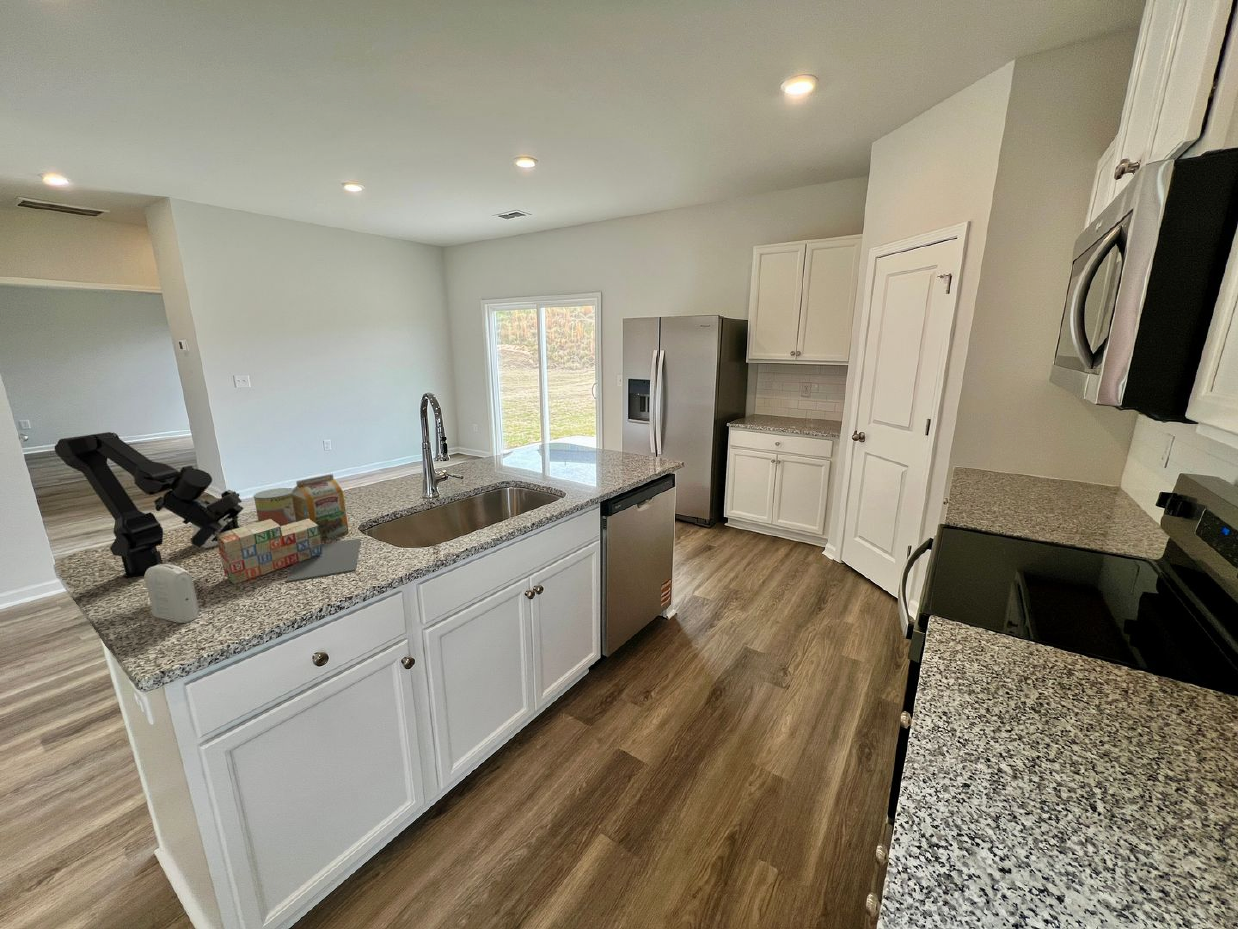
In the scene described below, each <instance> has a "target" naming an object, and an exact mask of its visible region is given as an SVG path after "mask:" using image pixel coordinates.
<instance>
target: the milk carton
mask: <svg viewBox="0 0 1238 929" xmlns="http://www.w3.org/2000/svg"><path fill="white" fill-rule="evenodd" d="M292 489H293V491H292V500H293V506H294V512H295V518H296V522H298V521H302V520H305V519H310V520H311V521H313V522H314V523H316V524H317V525H318V527H319V533H320V539H321V542H323V541H328V540H331V539H333V538H334V539H335V538H337V537H340V536H344V535H347V534H349V532H350V531H349V525H348V519H347V518H348V517H347V510H346V505H345V503H346V502H345V498H344V491H343V489H342V487H341V486H340V484H339V483H338V481H336V480H335V478H334V475H333V473H330V474H325V475H321V476H315V477H310V478H305V479H301V480H296V486H294V488H292Z"/></svg>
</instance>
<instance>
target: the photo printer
mask: <svg viewBox="0 0 1238 929" xmlns="http://www.w3.org/2000/svg"><path fill="white" fill-rule="evenodd" d="M143 576H144V582H145V586H146V589H147V593H148V598H149V602H150V606H151V610H152V614H153V616H154V617H155V618H158V619H162V620H165V621H169V622H173V623H179V624H180V623H181V624H183V623H185V624H186V623H189V622H192V621H194V620H195V619H197V618H198V616H200V609H199V605H198V604H199V603H198V598H197V594H196V588H195V585H194V581H193V577H192V575H191V574H190V572H189V571H187V570H186V569H184V568H182V567H179V566H177V565H173V564H168V563H167V564H165V563H163V564H160V565H156V566H153V567H150V568H148V569H147V571H146V572H145V575H143Z"/></svg>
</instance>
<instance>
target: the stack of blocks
mask: <svg viewBox="0 0 1238 929" xmlns="http://www.w3.org/2000/svg"><path fill="white" fill-rule="evenodd" d="M239 527H240V528H237V529H233V530H229V531H225V532H221V533H218V534H216V536H217V541H218V544H219V545H217V547H218V551H219V555H220V558H221V563H222V567H223V572H224V576H226V578H227V579H228V580H229V581H230V582H231V583H232V584H233V585H237V584H239V583H241V582H245V581H247V580H250V579H253V578H257V577H259V576H263V575H265V574H269V573H272V572H274V571H276V570H279V569H282V568H285V567H287V566H292V565H293V564H294V563H297V562H300V561H303V560H306V559H309V558H311V557H315V556H318V555H320V554H322V547H321V544H322V541H321V539H320V533H319V527H318V525H317V524H316V523H314V522H313V521H311V520H310V519H305V520H302V521H298V522H294V523H291V524H287V525H284V526H280V525H278V524H277V523H275V522H274V521H273V520H272V519H269V520H265V521H261V522H259V521H258V522H254V523H251V524H248V525H245V526H239Z"/></svg>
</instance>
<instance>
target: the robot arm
mask: <svg viewBox="0 0 1238 929" xmlns="http://www.w3.org/2000/svg"><path fill="white" fill-rule="evenodd" d="M54 452H55V454H56V455H57V456H58V457H60V459H61V461H63V462H64V463H65V465H66V466H67V467H70V468H72V469H74V470H76V471H78V472H81V473H82V474H83V476H84V477H85V479H86V480H87V481H88V483H89V484H90V486H91V488H93V490H94V493H96V495H97V496H98V497H99V499H100V501H102V503H103V505H104V506H105V508H106V509H107V511H108V512H109V514H110V515H111V516H112V518H113V519H114V525H113V526H114V527H113V535H114V536H115V539H114V541H113V542H112V544H111V545H110V547H109V549H110V552H111V553H112V555H113V556H117V557H121V561H122V565H123V569H124V572H125V573H124V574H123V575H122V578H123V579H124V578H126V579H127V578H130V577H137V576H144V575H145V572H146V571H147V569H148V568H150V567H153V566H156V565H160V564H164V562H163V560H162V559H163V558H162V556H161V551H160V550H158V549H157V547H158V546H161V545H163V541H164V540H163V538H164V529H163V526H161V525H162V524H161V523H160V521H158V519H157V518H156V516H155V515H154V514H153V513H152V512H147V513H145V512H143V511H140V510H139V509H138V507H137V505H136V504H135V502H134V501H133V500H132V498H131V497H130V496H129V494H128V493H127V491H126V489H125V488H124V487H123V484H122V483H121V482H120V480H119V479H118V478H117V476H116V475H115V473H114V471H113V470H112V469H111V468H110V466H109V464H108V459H109V460H110V461H111V462H112V463H114V464H115V465H117V466H119V467H120V468H122V469H123V470H124V471H126V472H127V473H129V474H130V475H131V476H132V477H133V479H134V480H133V481H134V485H135V486H136V487H138V488H139V489H140V490H141V491H142V492H143V493H145V494H146V495H149V496H153V495H157V494H161V493H164V494H163V496H158V497H157V498H156V499H155V500H153V503H154V504H155V510H156V511H157V512H160V511H162V510H163V509H165V510H167V511H169V512H171V513H173V514H174V515H176V516H178V517H180V518H181V519H183V521H182V524H185V525H188V524H191V525H192V524H194V525H195V526H197V527H199V528H201V529H200V530H199V531H198V532H197V533H196V534H195V535H194V534H193V536H192V538H190V543H191V545H192V546H193V547H195V548H197V549H201V548H203V547H202V546H203V545H204V544H205V542H206V541H207V540H208V539H209V538H210V537H211V535H212V534H213V536H215V537H214V538H213V539H212V540H211V541H213V542H214V541H217V536H216V534H218V533H221V532H225V531H229V530H233V529H237V528H240V527H241V526H240V525H239V523H238V522H239V521H238V519H239V514H240V513H241V512H243V510H244V507H243V506H241V505H240V503H242V502H243V501H242V499H241V498H240V493H237V492H236V491H235V490H234V491H233V490H231V489H227V490H225V491H223V492H222V493H221V494H220V495H221V497H220V498H218V499H216V500H214V501H213V500H211V499H206V500H202V499H200V497H202V495H203V494H204V493H205V491H207V489H208V488H209V487H210V485H212V482H213V478H212V475H210V473H209V472H206V471H205V470H203V469H199V468H194V467H193V466H192V465H187V466H183V467H182V468H181V469H180V470H177V469H176V468H174V467H172V466H171V465H169V464H166V463H163V462H157V461H153V460H151V459H150V458H148V457H146V456H145V455H144V454H142V453H140V452H139V451H138V450H136V449H135V448H134V447H132V446H131V445H129V444H127V443H126V442H125V441H123V440H122V439H120V437H119V435H118V434H117V433H115V432H111V431H110V432H109V431H108V432H99V433H94V434H86V435H79V436H78V435H77V436H73V437H71V436H70V437H67V438H66V437H64V438H61V439H59V440H58V442H57V443H56V444H55V445H54Z"/></svg>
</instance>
